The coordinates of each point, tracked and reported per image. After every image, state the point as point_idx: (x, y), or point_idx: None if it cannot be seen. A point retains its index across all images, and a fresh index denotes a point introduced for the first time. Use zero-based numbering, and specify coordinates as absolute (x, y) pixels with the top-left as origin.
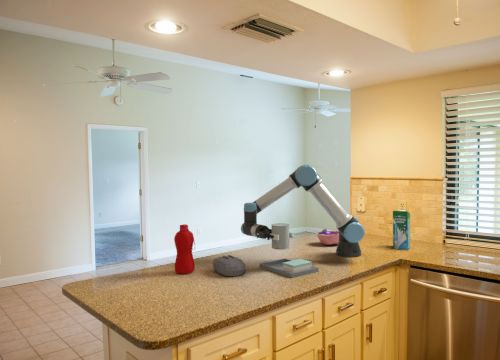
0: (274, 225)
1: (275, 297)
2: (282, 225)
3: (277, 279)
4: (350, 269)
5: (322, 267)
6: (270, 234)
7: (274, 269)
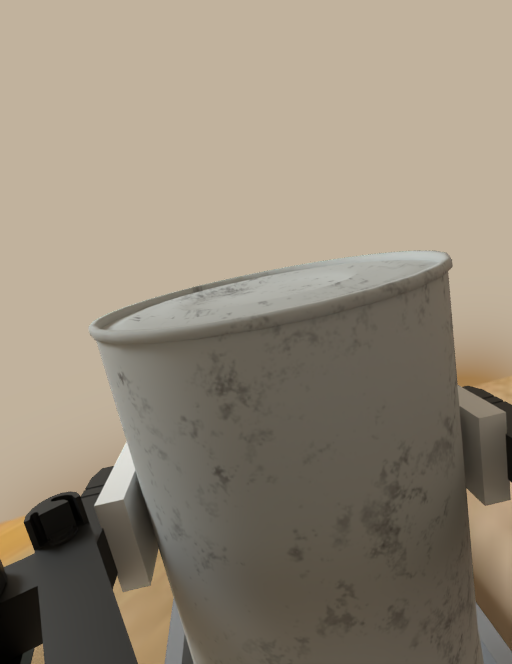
0: (389, 268)
1: (499, 393)
2: (256, 288)
3: (470, 529)
4: (12, 554)
5: (39, 660)
6: (496, 419)
7: (479, 615)
